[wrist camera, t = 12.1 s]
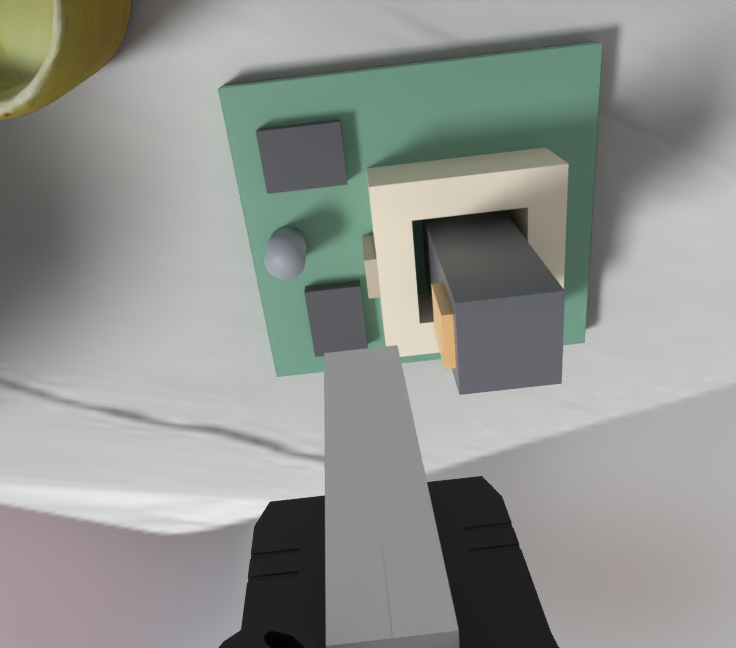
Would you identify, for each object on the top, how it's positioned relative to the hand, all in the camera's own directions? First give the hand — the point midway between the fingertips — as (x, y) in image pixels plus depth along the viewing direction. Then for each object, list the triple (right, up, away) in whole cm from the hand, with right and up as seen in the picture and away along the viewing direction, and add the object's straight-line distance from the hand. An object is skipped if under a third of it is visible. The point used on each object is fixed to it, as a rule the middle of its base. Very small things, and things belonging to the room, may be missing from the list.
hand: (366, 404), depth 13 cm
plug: (+5, +6, +20) cm, 22 cm away
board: (+3, +7, +21) cm, 22 cm away
